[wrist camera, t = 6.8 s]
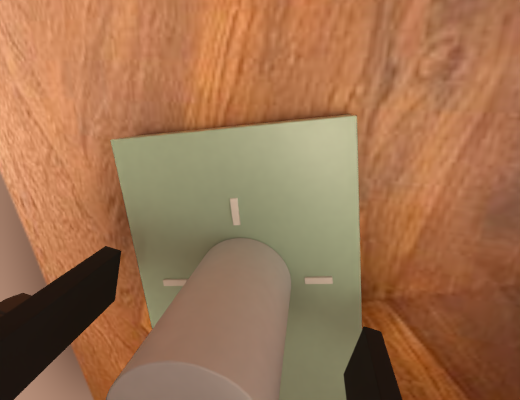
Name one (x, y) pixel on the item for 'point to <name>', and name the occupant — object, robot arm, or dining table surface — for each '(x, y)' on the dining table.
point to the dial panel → (257, 226)
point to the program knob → (217, 332)
